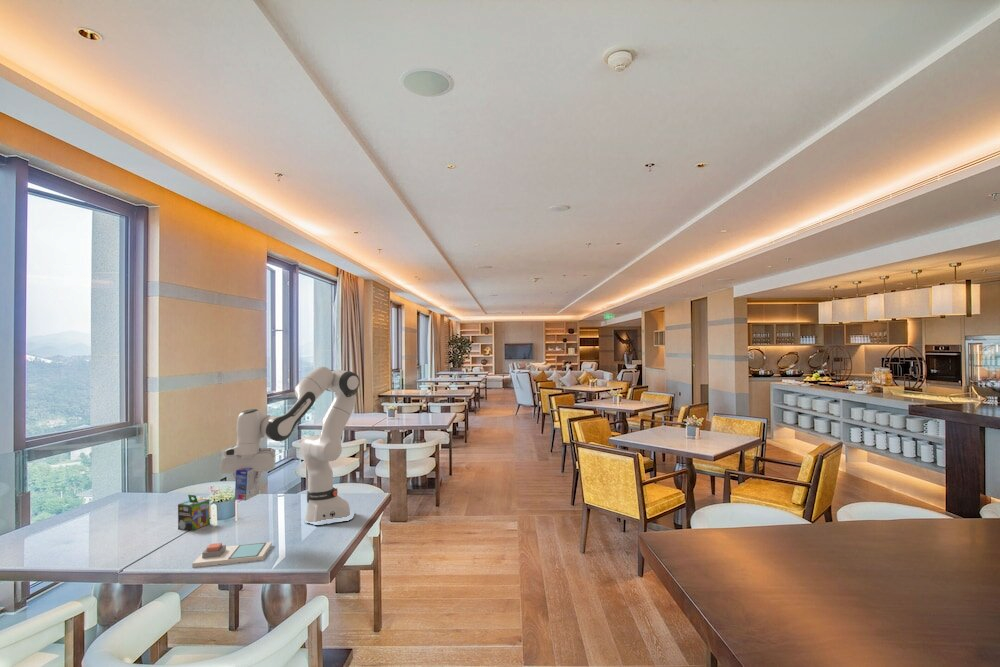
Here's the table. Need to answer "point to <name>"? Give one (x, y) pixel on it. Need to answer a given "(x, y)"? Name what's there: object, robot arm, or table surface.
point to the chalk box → (193, 513)
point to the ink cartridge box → (246, 484)
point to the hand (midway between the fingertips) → (248, 482)
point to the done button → (214, 547)
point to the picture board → (233, 554)
